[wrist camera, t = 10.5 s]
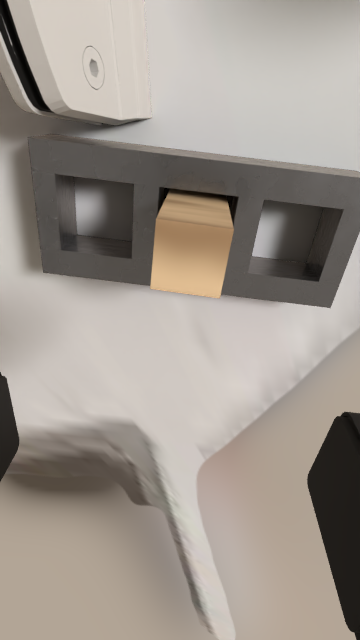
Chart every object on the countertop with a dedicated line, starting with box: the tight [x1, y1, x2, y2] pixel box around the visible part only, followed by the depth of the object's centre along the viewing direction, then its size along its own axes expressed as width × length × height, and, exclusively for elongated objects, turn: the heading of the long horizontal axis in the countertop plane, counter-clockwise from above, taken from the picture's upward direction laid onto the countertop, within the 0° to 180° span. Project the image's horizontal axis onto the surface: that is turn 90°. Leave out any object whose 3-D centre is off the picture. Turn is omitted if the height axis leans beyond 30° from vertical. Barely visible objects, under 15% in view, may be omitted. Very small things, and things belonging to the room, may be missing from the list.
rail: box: [28, 134, 360, 308], centre depth 28 cm, size 10×24×4 cm, turn 84°
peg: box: [150, 188, 234, 298], centre depth 25 cm, size 4×4×10 cm
